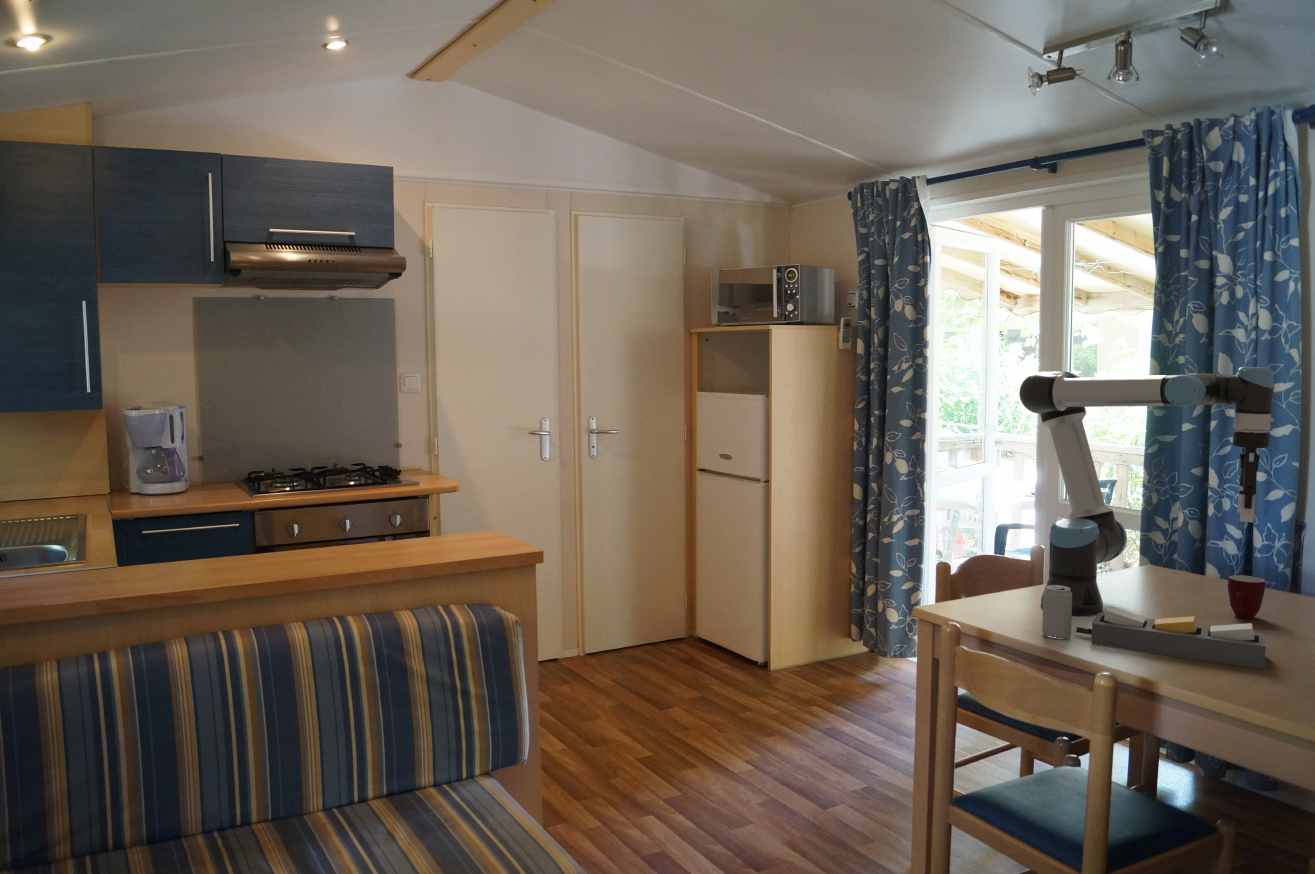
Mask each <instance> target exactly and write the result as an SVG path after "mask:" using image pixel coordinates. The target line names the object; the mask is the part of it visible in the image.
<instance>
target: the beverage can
mask: <svg viewBox="0 0 1315 874" xmlns="http://www.w3.org/2000/svg"><path fill="white" fill-rule="evenodd" d="M1044 589H1045V590H1044ZM1044 589H1043V591H1042V594H1043V607H1042V624H1041V625H1042V628H1041V633H1042V634H1043V635H1047V636H1051V637H1056V638H1067V637H1068V638H1069V637H1071V636H1072V616H1073V615H1072V593H1071V591H1070V590H1071V589H1070V588H1069V587H1066V586H1060V585H1048V586H1046V585H1044ZM1068 638H1067V639H1068Z"/></svg>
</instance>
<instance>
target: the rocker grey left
mask: <svg viewBox="0 0 1315 874" xmlns="http://www.w3.org/2000/svg"><path fill="white" fill-rule="evenodd" d="M1105 613H1106V614H1105V617H1104V620H1105V621H1108V622H1111V623H1114V624H1122V625H1129V626H1137V627H1143V625H1144V622H1145V618H1146V617H1145V616H1142V615H1138V614H1136V613H1133V612H1129V611H1127V610H1123V609H1121V608H1117V607H1115V606H1111V605H1108V607H1107V609H1106V611H1105Z"/></svg>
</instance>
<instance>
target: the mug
mask: <svg viewBox="0 0 1315 874" xmlns="http://www.w3.org/2000/svg"><path fill="white" fill-rule="evenodd" d="M1265 589H1266V580H1265V579H1264V578H1260V577H1256V576H1250V575H1245V574H1244V575H1243V574H1240V575H1239V574H1238V575H1237V574H1234V575H1229V576H1228V577H1227V591H1228V597H1229V605H1230V607H1231V610H1232V612H1233V614H1234V615H1235V617H1237V618H1239V619H1243V620H1245V619H1246V620H1252V619H1255V617H1256V616H1257V615H1258V613H1259V611H1260V610H1261V607H1262V603H1263V599H1264V595H1265Z"/></svg>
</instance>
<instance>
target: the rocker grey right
mask: <svg viewBox="0 0 1315 874" xmlns="http://www.w3.org/2000/svg"><path fill="white" fill-rule="evenodd" d="M1210 627H1211V628H1210V634H1211V636H1212V637H1220V638H1227V639H1235V640H1254V632H1255V631H1254V627H1253V623H1249V622H1248V623H1239V624H1238V623H1234V624H1223V625H1222V624H1221V625H1219V624H1218V625H1210Z"/></svg>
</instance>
